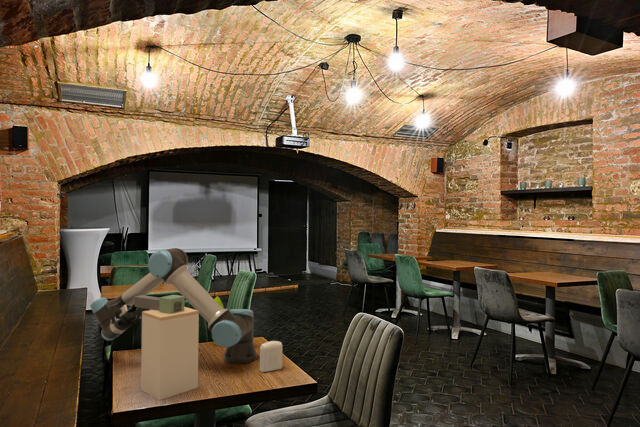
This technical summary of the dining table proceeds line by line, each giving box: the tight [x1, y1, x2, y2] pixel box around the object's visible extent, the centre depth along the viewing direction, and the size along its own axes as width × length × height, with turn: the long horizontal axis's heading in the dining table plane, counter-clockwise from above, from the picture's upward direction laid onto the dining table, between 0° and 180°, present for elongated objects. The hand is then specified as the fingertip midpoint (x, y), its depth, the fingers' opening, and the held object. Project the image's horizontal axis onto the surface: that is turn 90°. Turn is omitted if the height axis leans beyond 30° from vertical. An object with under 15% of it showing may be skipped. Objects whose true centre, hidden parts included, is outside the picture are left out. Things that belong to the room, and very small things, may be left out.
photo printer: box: [259, 340, 283, 373], centre depth 194 cm, size 10×4×12 cm, turn 123°
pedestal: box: [140, 306, 200, 401], centre depth 172 cm, size 14×16×30 cm
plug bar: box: [134, 294, 186, 314], centre depth 176 cm, size 22×7×6 cm, turn 61°
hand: (142, 305), depth 187 cm, fingers open, 13 cm apart
